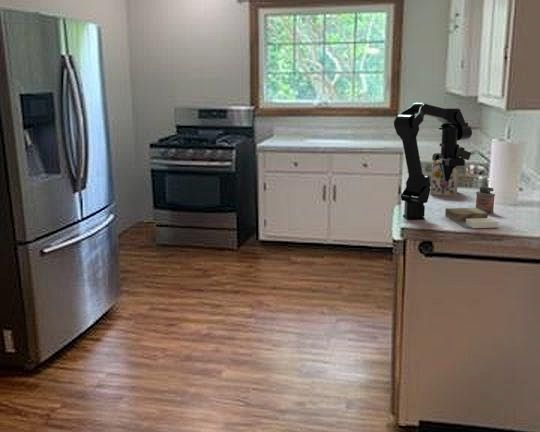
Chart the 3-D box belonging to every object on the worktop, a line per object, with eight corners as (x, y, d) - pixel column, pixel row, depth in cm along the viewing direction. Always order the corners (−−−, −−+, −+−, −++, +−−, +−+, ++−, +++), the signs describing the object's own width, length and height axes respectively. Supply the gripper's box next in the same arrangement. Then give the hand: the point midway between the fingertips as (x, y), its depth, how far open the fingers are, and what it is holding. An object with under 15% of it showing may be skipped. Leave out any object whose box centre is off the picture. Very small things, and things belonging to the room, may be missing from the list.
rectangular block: (466, 218, 209) (465, 224, 209) (473, 222, 203) (473, 228, 203) (490, 217, 210) (489, 223, 210) (498, 221, 204) (497, 227, 204)
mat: (465, 228, 205) (465, 227, 205) (455, 222, 213) (455, 221, 213) (498, 227, 206) (498, 226, 205) (487, 221, 214) (487, 220, 214)
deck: (455, 222, 213) (455, 214, 213) (445, 216, 223) (445, 208, 222) (487, 221, 214) (487, 213, 214) (475, 215, 224) (476, 207, 223)
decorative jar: (456, 197, 260) (459, 156, 256) (429, 195, 263) (431, 155, 259) (457, 192, 271) (459, 153, 267) (431, 191, 274) (433, 152, 270)
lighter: (472, 210, 233) (474, 185, 231) (478, 209, 235) (480, 184, 232) (489, 214, 226) (491, 188, 224) (495, 213, 228) (497, 187, 226)
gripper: (479, 143, 217) (477, 185, 220) (460, 138, 235) (457, 177, 238) (450, 143, 216) (448, 185, 219) (432, 139, 234) (430, 177, 237)
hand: (446, 181), depth 228 cm, fingers closed
